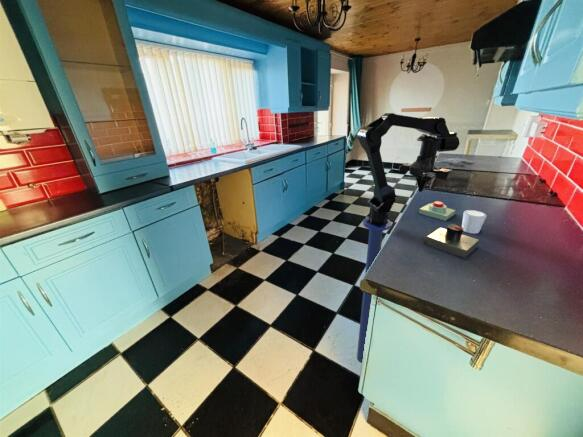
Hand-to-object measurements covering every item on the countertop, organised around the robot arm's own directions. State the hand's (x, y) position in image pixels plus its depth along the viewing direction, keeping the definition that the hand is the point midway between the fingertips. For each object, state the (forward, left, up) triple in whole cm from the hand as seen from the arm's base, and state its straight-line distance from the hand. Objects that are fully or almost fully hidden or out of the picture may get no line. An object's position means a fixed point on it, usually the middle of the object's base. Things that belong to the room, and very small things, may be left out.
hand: (420, 191), depth 97 cm
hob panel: (+19, -13, -12) cm, 26 cm away
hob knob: (+19, -13, -9) cm, 25 cm away
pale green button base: (+4, +10, -12) cm, 16 cm away
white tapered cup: (+19, +4, -12) cm, 23 cm away
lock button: (+4, +10, -8) cm, 14 cm away
